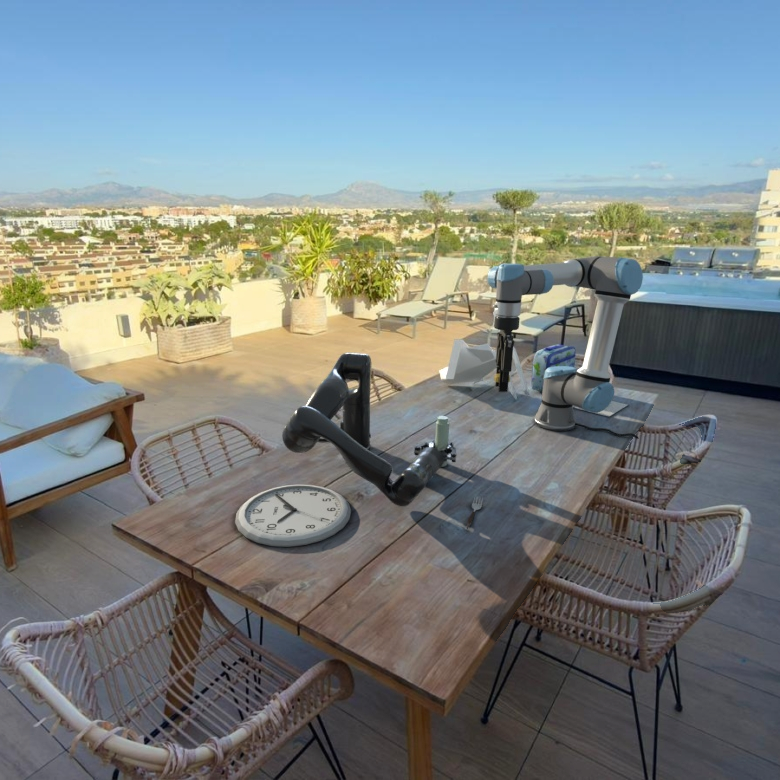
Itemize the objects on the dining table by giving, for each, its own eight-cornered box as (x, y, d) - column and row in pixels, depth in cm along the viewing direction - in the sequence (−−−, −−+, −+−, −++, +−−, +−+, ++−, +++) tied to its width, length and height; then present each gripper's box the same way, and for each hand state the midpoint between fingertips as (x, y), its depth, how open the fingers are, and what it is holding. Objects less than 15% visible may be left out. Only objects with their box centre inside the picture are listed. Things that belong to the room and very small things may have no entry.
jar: (431, 462, 170) (433, 416, 165) (442, 460, 172) (444, 414, 167) (438, 467, 166) (440, 420, 161) (449, 465, 168) (452, 418, 163)
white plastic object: (461, 429, 252) (437, 405, 227) (444, 352, 274) (420, 323, 250) (535, 404, 240) (518, 377, 215) (510, 326, 262) (492, 293, 237)
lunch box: (547, 397, 237) (552, 352, 231) (526, 391, 245) (531, 348, 238) (574, 386, 255) (580, 344, 249) (554, 381, 262) (559, 340, 256)
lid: (511, 380, 166) (512, 374, 165) (506, 384, 162) (506, 378, 161) (497, 378, 168) (498, 372, 168) (491, 381, 164) (492, 375, 164)
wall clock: (351, 538, 125) (223, 542, 122) (351, 544, 125) (223, 548, 123) (350, 480, 153) (246, 482, 151) (350, 485, 154) (246, 487, 151)
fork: (461, 529, 132) (462, 523, 131) (474, 500, 146) (474, 494, 146) (471, 532, 131) (472, 525, 130) (483, 502, 145) (483, 495, 145)
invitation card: (608, 416, 214) (573, 407, 224) (608, 416, 214) (573, 408, 224) (628, 404, 229) (594, 396, 238) (628, 405, 229) (594, 397, 238)
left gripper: (404, 470, 158) (423, 450, 173) (449, 480, 153) (464, 457, 168) (404, 448, 156) (423, 428, 171) (450, 456, 151) (466, 436, 166)
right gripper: (489, 311, 167) (484, 380, 174) (500, 320, 150) (494, 397, 158) (513, 311, 167) (507, 381, 174) (526, 321, 150) (519, 397, 157)
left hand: (444, 443), depth 169 cm, fingers closed on jar, 4 cm apart
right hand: (501, 388), depth 166 cm, fingers closed on lid, 5 cm apart
